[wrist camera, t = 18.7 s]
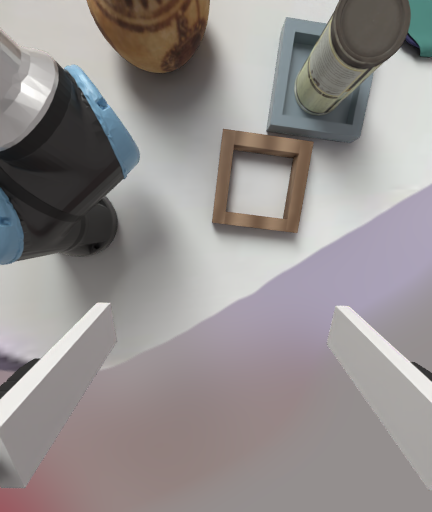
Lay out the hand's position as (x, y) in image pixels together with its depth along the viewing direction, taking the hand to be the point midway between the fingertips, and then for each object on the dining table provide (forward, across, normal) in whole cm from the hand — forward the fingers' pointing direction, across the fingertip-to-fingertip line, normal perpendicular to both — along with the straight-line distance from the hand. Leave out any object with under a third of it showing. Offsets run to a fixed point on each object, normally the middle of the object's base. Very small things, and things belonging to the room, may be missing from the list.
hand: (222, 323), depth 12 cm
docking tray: (+40, +20, +26) cm, 52 cm away
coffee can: (+40, +20, +26) cm, 52 cm away
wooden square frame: (+37, +9, +8) cm, 39 cm away
